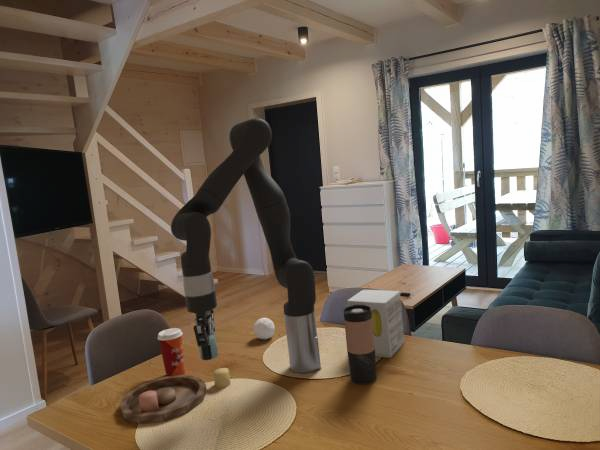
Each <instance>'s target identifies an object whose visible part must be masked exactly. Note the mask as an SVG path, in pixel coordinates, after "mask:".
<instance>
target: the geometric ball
mask: <svg viewBox="0 0 600 450" xmlns="http://www.w3.org/2000/svg"><path fill="white" fill-rule="evenodd" d="M252 330H253V334H254V335H255V337H256V338H258V339H259V340H263V341H265V340H268V339H271V338H272V337H273V335H274V333H275V323H274V322H273V321H272V319H270V318H269V317H268V318H267V317H261V318H259V319H258V320H256V321H255V322H254V325H253V328H252Z"/></svg>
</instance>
